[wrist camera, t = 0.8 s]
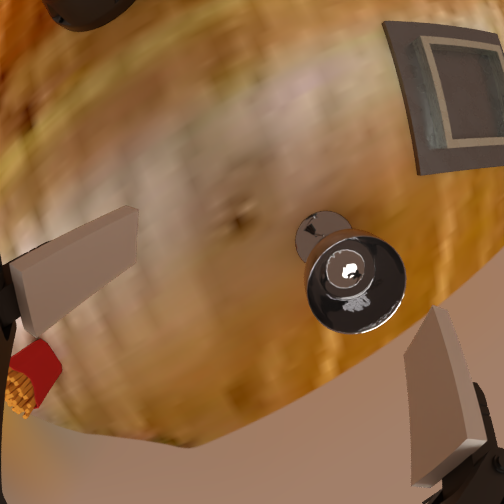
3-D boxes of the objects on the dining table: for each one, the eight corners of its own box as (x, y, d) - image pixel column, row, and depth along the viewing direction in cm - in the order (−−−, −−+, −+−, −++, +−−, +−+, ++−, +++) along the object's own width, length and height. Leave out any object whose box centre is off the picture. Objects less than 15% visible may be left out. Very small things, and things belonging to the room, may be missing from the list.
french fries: (68, 374, 45) (31, 420, 33) (55, 378, 46) (18, 422, 34) (39, 329, 43) (-7, 369, 31) (26, 335, 44) (-17, 374, 31)
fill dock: (381, 23, 30) (390, 13, 26) (493, 35, 28) (506, 29, 24) (417, 175, 35) (430, 176, 31) (521, 163, 33) (536, 164, 29)
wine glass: (367, 252, 38) (419, 303, 23) (311, 284, 39) (333, 350, 24) (338, 195, 36) (383, 216, 21) (279, 228, 37) (287, 270, 23)
